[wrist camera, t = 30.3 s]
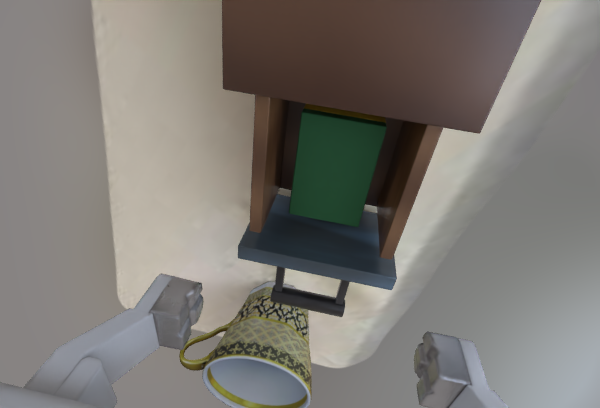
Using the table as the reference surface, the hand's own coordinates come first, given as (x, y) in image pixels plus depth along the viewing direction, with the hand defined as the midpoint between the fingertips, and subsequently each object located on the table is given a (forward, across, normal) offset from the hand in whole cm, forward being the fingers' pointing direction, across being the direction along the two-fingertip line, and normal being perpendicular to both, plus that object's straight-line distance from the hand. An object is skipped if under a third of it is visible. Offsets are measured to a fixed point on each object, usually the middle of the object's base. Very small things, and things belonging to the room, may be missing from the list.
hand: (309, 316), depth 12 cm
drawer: (+16, 0, +3) cm, 16 cm away
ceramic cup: (+17, +4, +21) cm, 27 cm away
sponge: (+15, 0, 0) cm, 15 cm away
